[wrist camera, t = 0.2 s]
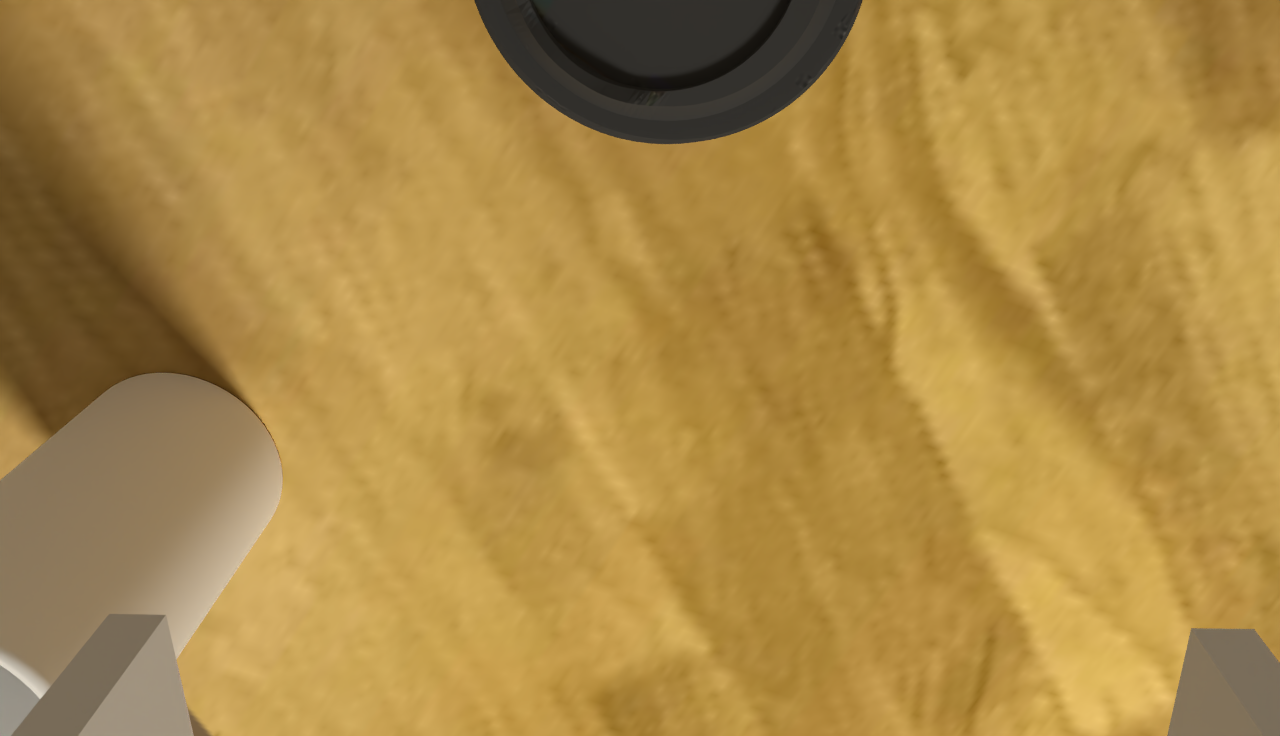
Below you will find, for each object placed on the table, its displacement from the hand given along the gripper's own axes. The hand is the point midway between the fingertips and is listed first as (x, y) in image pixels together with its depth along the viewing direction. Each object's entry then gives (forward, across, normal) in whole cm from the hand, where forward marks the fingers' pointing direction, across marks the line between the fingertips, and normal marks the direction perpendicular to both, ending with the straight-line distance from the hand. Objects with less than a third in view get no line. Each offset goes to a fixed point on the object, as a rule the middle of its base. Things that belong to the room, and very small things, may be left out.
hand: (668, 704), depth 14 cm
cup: (+27, -20, -11) cm, 36 cm away
